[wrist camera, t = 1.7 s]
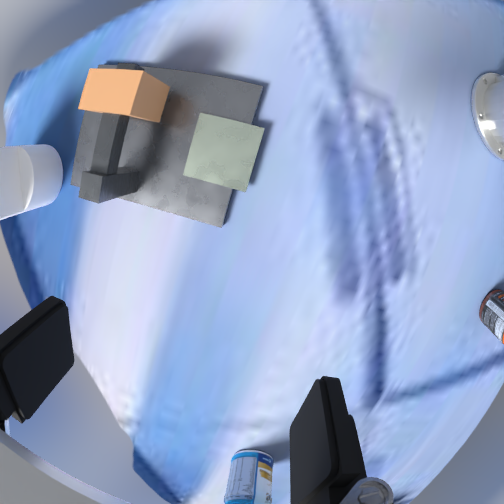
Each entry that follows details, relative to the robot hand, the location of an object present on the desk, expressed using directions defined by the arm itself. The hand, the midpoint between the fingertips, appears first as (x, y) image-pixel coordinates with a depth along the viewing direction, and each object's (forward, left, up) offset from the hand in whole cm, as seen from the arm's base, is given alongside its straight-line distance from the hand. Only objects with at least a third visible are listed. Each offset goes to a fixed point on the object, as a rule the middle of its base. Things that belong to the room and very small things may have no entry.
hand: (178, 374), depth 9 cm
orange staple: (-10, -14, -21) cm, 28 cm away
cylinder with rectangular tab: (+1, -30, -25) cm, 39 cm away
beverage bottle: (+44, +14, -24) cm, 52 cm away
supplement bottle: (0, +40, -25) cm, 46 cm away
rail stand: (-7, -12, -24) cm, 28 cm away
